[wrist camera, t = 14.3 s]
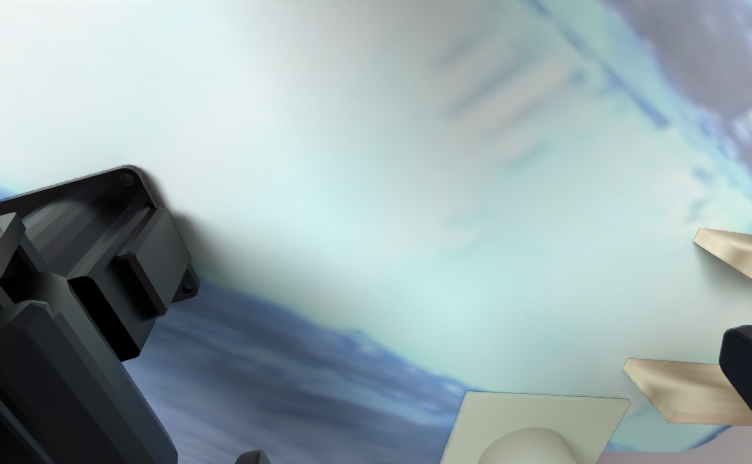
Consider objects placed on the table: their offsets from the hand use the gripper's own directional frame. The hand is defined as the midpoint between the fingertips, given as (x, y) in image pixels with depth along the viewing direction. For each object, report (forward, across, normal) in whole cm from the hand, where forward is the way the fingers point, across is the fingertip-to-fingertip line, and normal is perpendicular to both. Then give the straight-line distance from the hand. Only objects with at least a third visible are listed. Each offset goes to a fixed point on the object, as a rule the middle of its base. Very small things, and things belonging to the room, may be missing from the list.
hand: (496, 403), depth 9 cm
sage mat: (+13, -4, +22) cm, 26 cm away
